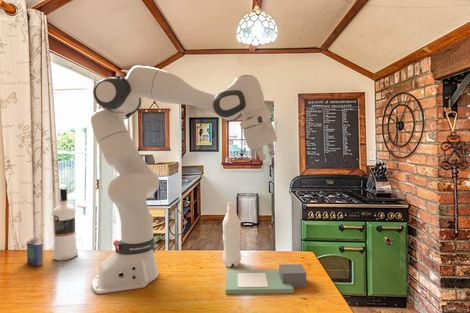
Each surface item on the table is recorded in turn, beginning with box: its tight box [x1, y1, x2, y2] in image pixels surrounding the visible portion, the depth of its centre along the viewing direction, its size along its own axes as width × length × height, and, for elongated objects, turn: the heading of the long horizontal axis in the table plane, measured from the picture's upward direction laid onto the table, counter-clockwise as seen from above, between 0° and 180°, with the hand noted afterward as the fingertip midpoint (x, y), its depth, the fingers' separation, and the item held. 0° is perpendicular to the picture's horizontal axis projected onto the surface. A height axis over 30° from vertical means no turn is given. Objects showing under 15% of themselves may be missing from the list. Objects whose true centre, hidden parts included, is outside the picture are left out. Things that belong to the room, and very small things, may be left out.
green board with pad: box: [225, 263, 307, 295], centre depth 100 cm, size 27×14×5 cm, turn 90°
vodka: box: [52, 188, 79, 261], centre depth 125 cm, size 9×9×30 cm
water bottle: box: [222, 201, 242, 268], centre depth 115 cm, size 7×7×25 cm
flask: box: [26, 237, 44, 267], centre depth 119 cm, size 9×3×11 cm, turn 61°
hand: (268, 157), depth 103 cm, fingers open, 8 cm apart
